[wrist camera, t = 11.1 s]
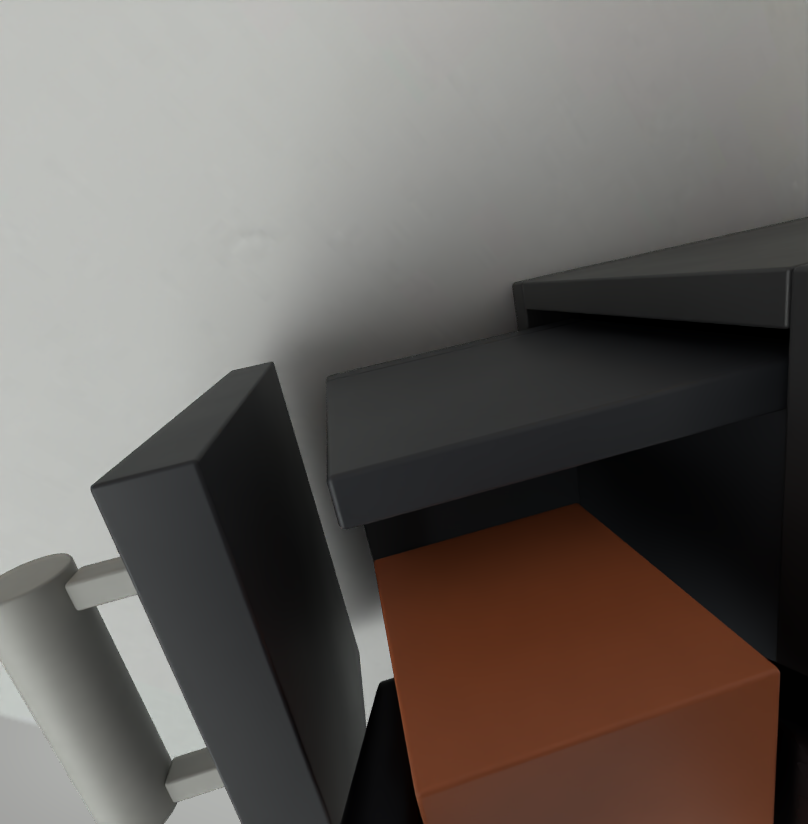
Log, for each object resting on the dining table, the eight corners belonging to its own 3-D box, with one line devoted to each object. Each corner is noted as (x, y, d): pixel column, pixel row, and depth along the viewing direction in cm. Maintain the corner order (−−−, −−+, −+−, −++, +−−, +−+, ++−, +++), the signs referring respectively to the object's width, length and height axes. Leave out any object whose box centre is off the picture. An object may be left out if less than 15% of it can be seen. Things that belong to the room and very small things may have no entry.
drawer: (202, 700, 15) (79, 1108, 7) (73, 407, 12) (-345, 594, 4) (593, 581, 16) (816, 820, 9) (565, 294, 13) (863, 293, 6)
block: (372, 558, 8) (414, 797, 4) (577, 501, 8) (783, 669, 5) (416, 723, 9) (480, 1028, 5) (595, 664, 10) (772, 908, 6)
